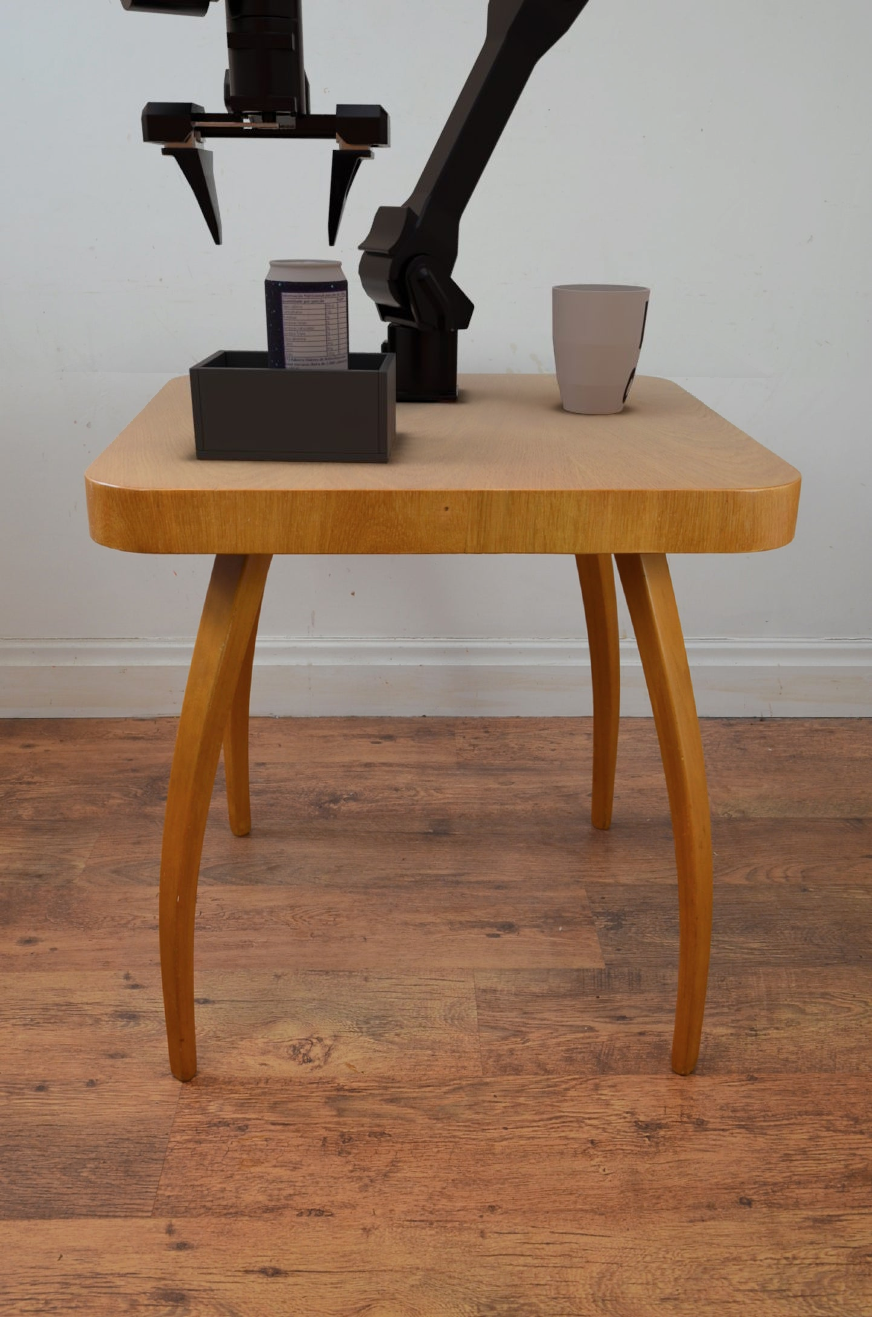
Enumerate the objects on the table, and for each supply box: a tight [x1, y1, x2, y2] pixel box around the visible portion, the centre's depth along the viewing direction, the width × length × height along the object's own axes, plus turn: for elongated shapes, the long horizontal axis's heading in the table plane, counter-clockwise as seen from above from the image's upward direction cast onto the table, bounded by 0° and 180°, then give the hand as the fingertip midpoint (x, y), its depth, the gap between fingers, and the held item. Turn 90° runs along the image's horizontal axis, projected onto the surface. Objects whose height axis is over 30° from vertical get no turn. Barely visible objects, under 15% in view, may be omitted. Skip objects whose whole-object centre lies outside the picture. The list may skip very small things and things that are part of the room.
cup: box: [551, 283, 651, 415], centre depth 89 cm, size 8×8×10 cm
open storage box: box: [188, 349, 397, 464], centre depth 74 cm, size 13×9×6 cm
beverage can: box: [264, 258, 350, 370], centre depth 73 cm, size 6×6×12 cm
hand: (275, 245), depth 85 cm, fingers open, 9 cm apart
